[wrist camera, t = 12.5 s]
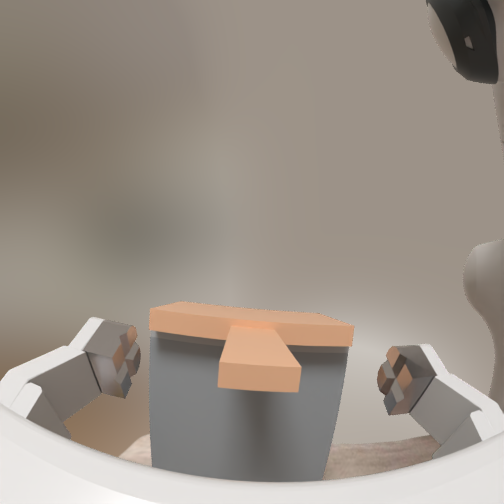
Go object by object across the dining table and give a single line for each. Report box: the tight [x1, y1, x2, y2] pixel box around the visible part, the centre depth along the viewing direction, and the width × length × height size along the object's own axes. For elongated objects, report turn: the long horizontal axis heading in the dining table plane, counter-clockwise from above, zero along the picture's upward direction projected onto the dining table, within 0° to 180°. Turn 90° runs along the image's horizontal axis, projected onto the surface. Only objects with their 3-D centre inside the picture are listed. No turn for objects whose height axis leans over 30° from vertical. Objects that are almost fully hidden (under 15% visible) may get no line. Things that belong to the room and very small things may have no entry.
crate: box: [149, 330, 349, 482], centre depth 31 cm, size 18×16×26 cm
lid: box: [149, 301, 354, 392], centre depth 23 cm, size 17×23×2 cm
